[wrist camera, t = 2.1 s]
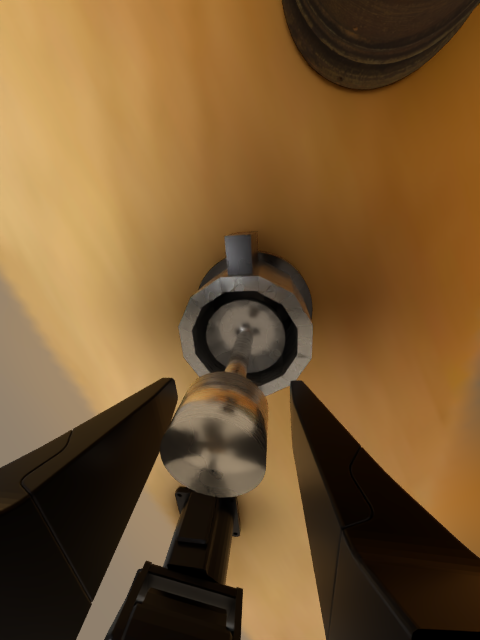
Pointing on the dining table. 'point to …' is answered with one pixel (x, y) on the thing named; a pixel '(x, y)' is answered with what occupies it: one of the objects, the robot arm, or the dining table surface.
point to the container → (372, 36)
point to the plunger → (227, 405)
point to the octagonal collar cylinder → (259, 283)
